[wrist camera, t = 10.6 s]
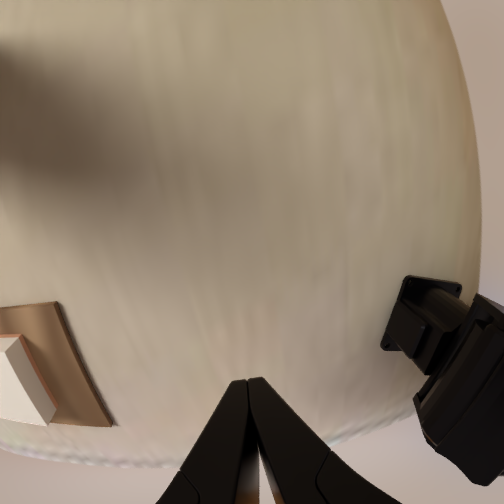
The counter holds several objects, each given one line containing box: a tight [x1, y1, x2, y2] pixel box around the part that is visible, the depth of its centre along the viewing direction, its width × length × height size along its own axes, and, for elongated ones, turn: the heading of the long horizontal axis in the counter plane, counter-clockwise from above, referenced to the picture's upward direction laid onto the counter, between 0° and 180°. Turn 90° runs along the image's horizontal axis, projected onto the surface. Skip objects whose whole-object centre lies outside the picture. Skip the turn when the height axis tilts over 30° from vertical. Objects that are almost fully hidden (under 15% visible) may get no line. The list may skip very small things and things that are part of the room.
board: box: [0, 301, 113, 427], centre depth 22 cm, size 15×13×1 cm
